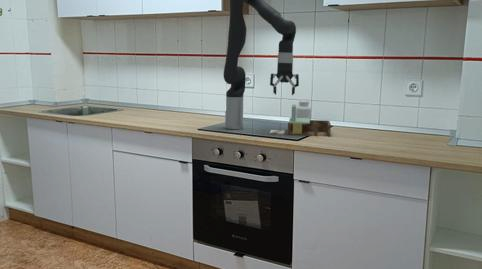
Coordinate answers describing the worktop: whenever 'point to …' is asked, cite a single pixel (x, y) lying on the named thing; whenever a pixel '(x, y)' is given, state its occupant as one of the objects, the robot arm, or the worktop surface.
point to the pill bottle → (303, 110)
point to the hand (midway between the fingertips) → (283, 94)
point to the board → (308, 129)
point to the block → (297, 128)
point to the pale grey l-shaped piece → (298, 120)
